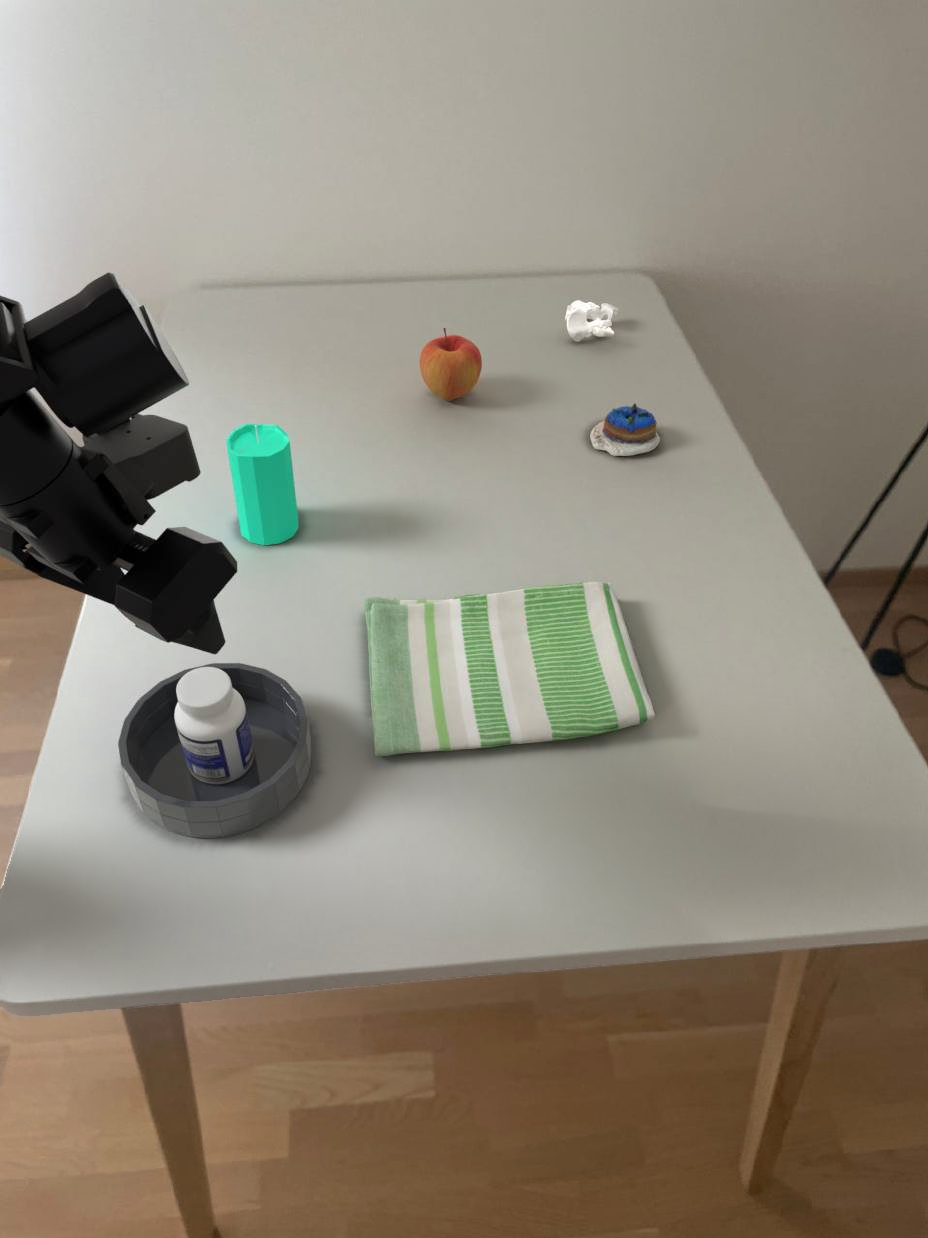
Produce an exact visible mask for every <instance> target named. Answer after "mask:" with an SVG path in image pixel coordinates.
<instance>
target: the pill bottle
mask: <svg viewBox="0 0 928 1238" xmlns="http://www.w3.org/2000/svg"><path fill="white" fill-rule="evenodd" d="M176 693H177V698H178V703H177V705H176V708H175V713H174V718H175V723H176V727H177V731H178V734H179V738H180V741H181V745H182V748H183V752H184V755H185V759H186V762H187V765H188V768H189V770H190V772H191V774H192V775H193V776H194V777H195V778H196V779H198V780H200V781H202V782H204V783H208V784H225V783H228V782H231V781H234V780H236V779H238V778H240V777H241V776H242V775H244V774H245V773H246V772H247V771H248V769H249V768H250V766H251V765H252V762H253V760H254V746H253V741H252V736H251V731H250V726H249V721H248V717H247V712H246V707H245V703H244V700H243V698H242V696H241V695H240V694H239V693H238V692H237V691H236V690H235V689H234V688H232V684H231V680H230V678H229V676H228V675H227V674H226V673H225V672H224V671H222V670H220V669H218V668H214V667H201V668H197V669H194V670H192V671H190V672H188V673H186V674H185V675H184V676H183V677H182V678H181V679H180V681H179V682H178V684H177V688H176Z"/></svg>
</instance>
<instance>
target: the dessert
mask: <svg viewBox="0 0 928 1238" xmlns="http://www.w3.org/2000/svg"><path fill="white" fill-rule="evenodd" d="M657 422H658V421H657V420H656V418H655V416H654V415H653V413H652V412H650V411H648V410H647V409H645V408H640V407H639V406H637V404H636V403H633V404H632V405H631V406H629V405H626V406H619V407H617V408H612V409H611V410H610V412H608V414H606V416H605V417H604V419H603V420H602V421H601V422H599V423H598V424H596V425H595V426H594V427H593V428H592V430H591V431H590V434H589V438H590V442H591V445H592V447H593V448H594V449H595V450H600V451H604V452H605V451H606V452H607V453H608V454H609V455H611V456H613V457H616V456H617V457H619V456H621V457H624V456H625V457H629V456H635V455H639V454H644V453H649V452H650V451H653V450H654V449H656V447H658V446H659V444H660V442H661V437H660V435H659V434H658V433H657V424H658V423H657Z"/></svg>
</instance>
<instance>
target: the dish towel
mask: <svg viewBox="0 0 928 1238" xmlns="http://www.w3.org/2000/svg"><path fill="white" fill-rule="evenodd" d="M363 612H364V616H365V624H366V630H367V647H368V671H369V672H368V673H369V691H370V693H369V694H370V705H371V706H370V707H371V716H372V717H371V718H372V730H373V745H374V746H373V747H374V756H376V757H387V756H392V755H393V756H394V755H401V754H411V753H413V754H414V753H425V752H427V753H428V752H429V753H430V752H445V751H446V752H448V751H460V750H470V749H471V750H472V749H484V748H495V747H500V746H508V745H518V744H519V745H522V744H535V743H543V742H555V741H557V742H558V741H566V740H571V739H577V738H584V737H592V736H598V735H599V736H600V735H602V734H605V733H611V732H614V731H618V730H621V729H624V728H628V727H632V726H633V727H634V726H636V725H642V724H644V723H647V722H649V721H650V720H652V719H654V718H655V717H656V715H655V711H654V707H653V703H652V700H651V697H650V696H649V693H648V690H647V687H646V684H645V681H644V677H643V675H642V672H641V668H640V665H639V663H638V659H637V657H636V653H635V650H634V647H633V643H632V641H631V637H630V634H629V631H628V628H627V625H626V622H625V619H624V616H623V612H622V609H621V605H620V603H619V601H618V599H617V596H616V593H615V591H614V589H613V585H612V584H611V582H600V581H588V582H578V583H577V582H576V583H565V584H552V585H544V586H535V587H526V588H522V589H514V590H507V591H501V592H494V593H486V594H482V593H481V594H480V593H479V594H477V593H476V594H465V595H462V596H456V597H453V598H448V599H447V598H446V599H445V598H444V599H399V598H393V597H384V596H383V597H382V596H368V597H365V598H364V600H363Z"/></svg>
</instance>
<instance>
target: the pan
mask: <svg viewBox="0 0 928 1238" xmlns="http://www.w3.org/2000/svg"><path fill="white" fill-rule="evenodd" d="M201 667H214V668H218V669H220V670H222V671H224V672H225V673H226V674H227V675H228V676H229V678H230V680H231V684H232V688H234V689H235V690H236V691H237V692H238V693H239V694H240V695H241V696H242V698H243V700H244V703H245V707H246V712H247V717H248V721H249V726H250V731H251V736H252V741H253V746H254V760H253V762H252V765H251V766H250V768H249V769H248V771H247V772H246V773H245V774H244V775H242V776H241V777H240V778H238V779H236V780H234V781H231V782H228V783H225V784H208V783H204V782H202V781H200V780H198V779H196V778H195V777H194V776H193V775H192V774H191V772H190V770H189V768H188V765H187V762H186V759H185V755H184V752H183V748H182V745H181V741H180V738H179V734H178V731H177V727H176V723H175V718H174V713H175V708H176V705H177V703H178V698H177V693H176V688H177V684H178V682H179V681H180V679H181V678H182V677H183V676H184V675H185V674H186V673H188V672H190V671H192V670H194V669H197V668H201ZM309 723H310V722H309V717H308V714H307V711H306V708H305V704H304V701H303V698H302V697H301V696H300V695H299V693H298V692H297V691H296V690H295V689H294V688H293V686H292V685H291V684H290V683H289V682H288V681H287V680H286V679H284V678H282V677H280V676H279V675H277V674H276V673H273V672H272V671H270V670H268V669H266V668H263V667H258V666H254V665H251V664H246V663H242V662H213V663H208V664H203V665H199V666H195V667H189V668H187V669H183V670H181V671H179V672H177V673H175V674H173V675H171V676H169V677H167V678H164V679H163V680H160V681H159V682H158V683H156V684H155V685H154V686H152V687H151V688H150V689H149V690H148V691H147V692H145V693H144V694H143V695H142V696H141V697H139V698H138V699H137V701H136V702H135V703H134V705H133V706H132V708H131V709H130V711H129V712H128V714H127V715H126V716H125V718H124V720H123V722H122V728H121V731H120V734H119V738H118V743H117V747H118V753H119V761H120V765H121V769H122V771H123V774H124V778H125V781H126V783H127V786H128V788H129V792H130V794H131V796H132V798H133V799H134V801H135V803H136V805H137V807H138V808H139V809H140V811H141V812H142V813H143V814H144V815H145V817H147V818H148V819H149V820H150V821H151V822H153V823H154V824H156V825H157V826H159V827H161V828H163V829H164V830H166V831H168V832H171V833H174V834H177V835H179V836H185V837H189V838H197V839H216V838H217V839H218V838H226V837H230V836H231V837H232V836H234V835H239V834H242V833H245V832H249V831H252V830H253V829H256V828H258V827H260V826H262V825H264V824H266V823H268V822H269V821H271V820H272V819H274V818H275V817H277V816H278V815H279V814H280V813H282V812H283V811H284V810H285V809H287V807H288V806H289V805H290V804H291V803H292V802H293V801H294V799H295V798H297V796H298V795H299V793H300V792H301V790H302V788H303V787H304V786H305V783H306V781H307V778H308V776H309V772H310V769H311V763H312V749H313V748H312V740H311V732H310V731H311V730H310V724H309Z"/></svg>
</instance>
